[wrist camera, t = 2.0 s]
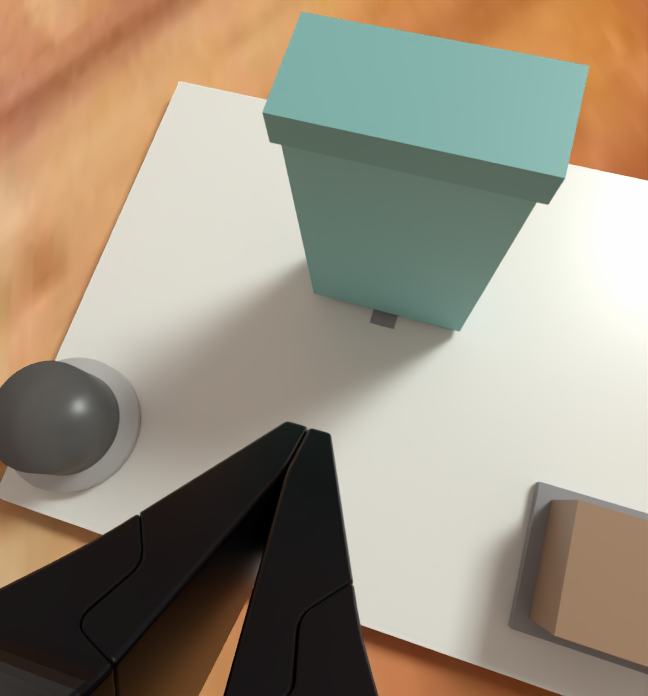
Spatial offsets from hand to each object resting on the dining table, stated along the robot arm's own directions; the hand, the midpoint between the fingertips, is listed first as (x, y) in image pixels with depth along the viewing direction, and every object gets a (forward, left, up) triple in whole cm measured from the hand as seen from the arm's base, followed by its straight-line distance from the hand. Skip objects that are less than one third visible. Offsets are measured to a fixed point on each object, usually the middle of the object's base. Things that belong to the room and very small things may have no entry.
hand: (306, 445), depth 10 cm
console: (+5, -1, -12) cm, 13 cm away
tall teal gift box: (+8, 0, -11) cm, 13 cm away
